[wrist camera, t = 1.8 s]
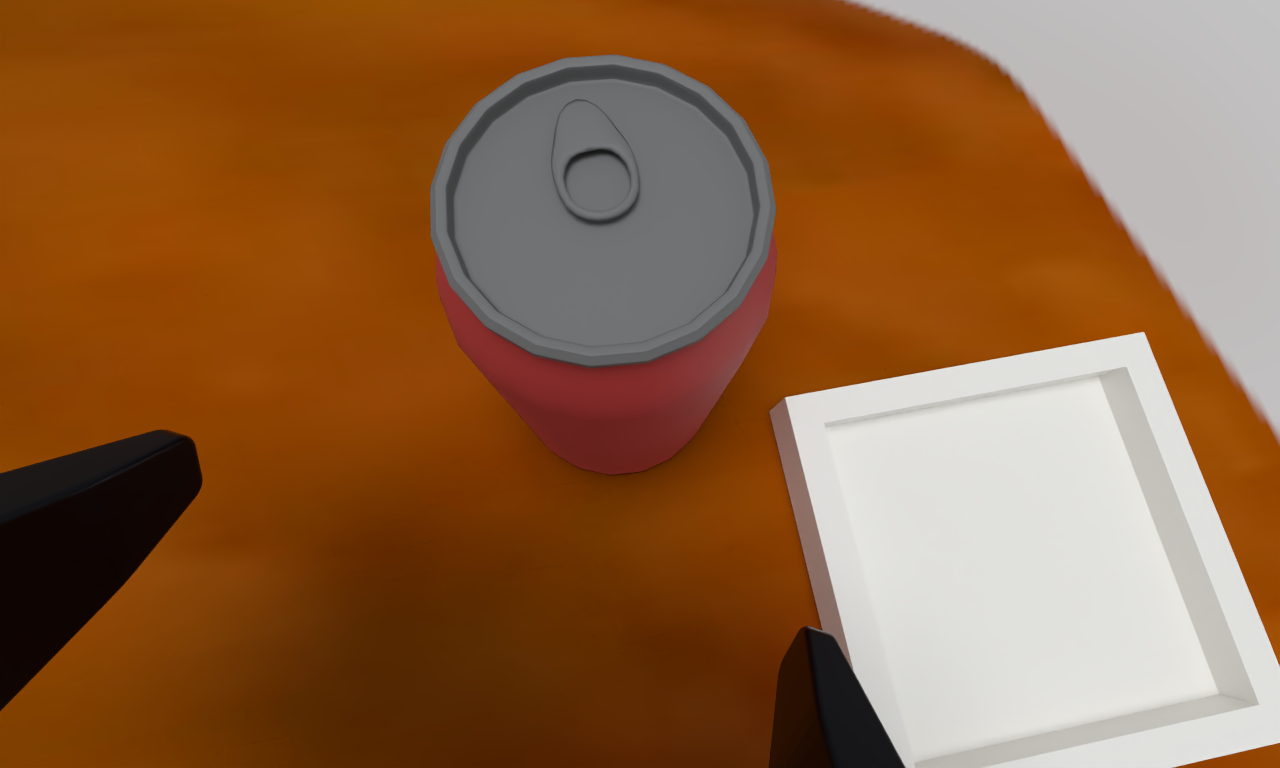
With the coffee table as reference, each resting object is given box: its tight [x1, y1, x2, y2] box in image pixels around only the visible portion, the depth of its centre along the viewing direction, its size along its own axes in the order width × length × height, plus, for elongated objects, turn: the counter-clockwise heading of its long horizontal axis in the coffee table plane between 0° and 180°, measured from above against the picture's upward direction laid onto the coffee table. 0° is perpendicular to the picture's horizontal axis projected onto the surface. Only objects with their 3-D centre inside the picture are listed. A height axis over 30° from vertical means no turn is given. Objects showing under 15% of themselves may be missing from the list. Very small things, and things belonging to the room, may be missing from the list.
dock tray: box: [769, 332, 1280, 768], centre depth 19 cm, size 12×12×2 cm
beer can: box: [430, 55, 777, 475], centre depth 16 cm, size 7×7×12 cm
